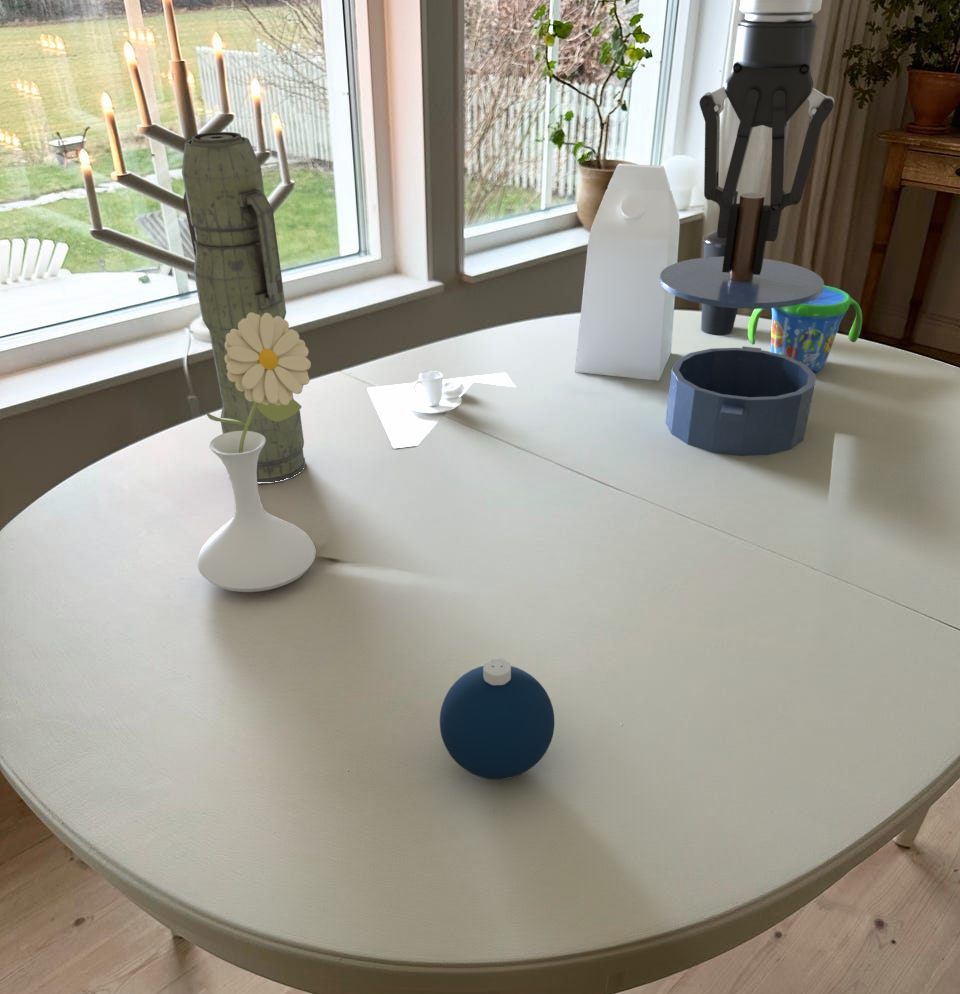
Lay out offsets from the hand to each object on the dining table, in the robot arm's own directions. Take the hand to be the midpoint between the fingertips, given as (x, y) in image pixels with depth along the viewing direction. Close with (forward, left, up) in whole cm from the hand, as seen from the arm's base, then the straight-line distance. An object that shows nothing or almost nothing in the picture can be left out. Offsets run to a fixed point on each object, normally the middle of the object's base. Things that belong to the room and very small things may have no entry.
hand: (742, 269), depth 106 cm
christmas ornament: (+8, +63, -20) cm, 67 cm away
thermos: (+49, +24, -20) cm, 58 cm away
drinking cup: (+5, -40, -20) cm, 45 cm away
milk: (+16, -22, -20) cm, 34 cm away
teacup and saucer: (+34, +1, -20) cm, 40 cm away
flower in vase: (+38, +44, -20) cm, 62 cm away
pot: (-2, -3, -20) cm, 21 cm away
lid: (0, 0, -2) cm, 2 cm away
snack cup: (-8, -28, -20) cm, 36 cm away
